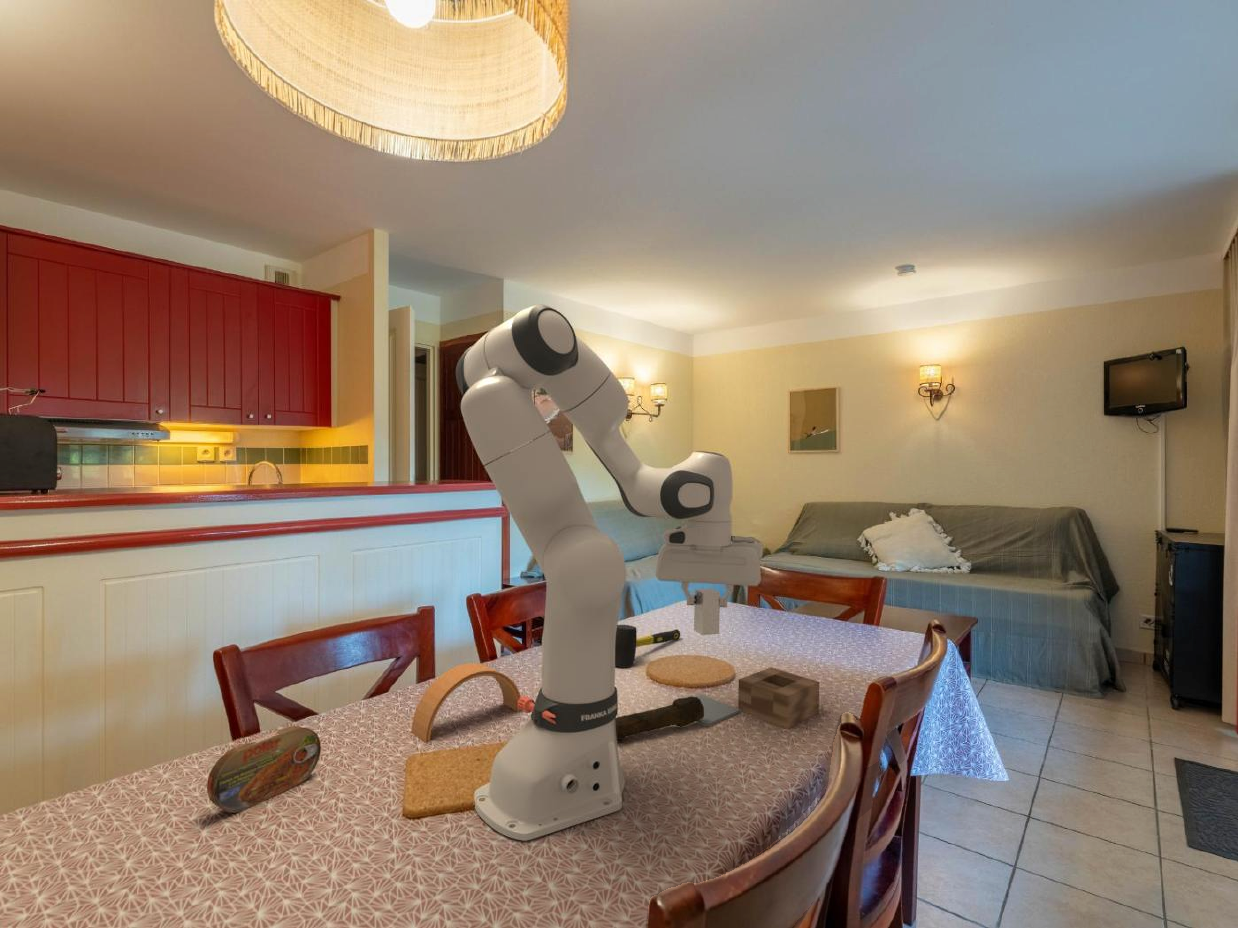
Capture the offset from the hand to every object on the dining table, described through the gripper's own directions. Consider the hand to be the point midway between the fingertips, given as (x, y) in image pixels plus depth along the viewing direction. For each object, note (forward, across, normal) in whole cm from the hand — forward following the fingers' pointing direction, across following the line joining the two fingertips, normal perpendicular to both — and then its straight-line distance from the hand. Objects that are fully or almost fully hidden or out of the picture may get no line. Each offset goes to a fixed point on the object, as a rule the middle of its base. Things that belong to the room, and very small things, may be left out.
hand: (706, 605), depth 117 cm
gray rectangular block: (+5, 0, 0) cm, 5 cm away
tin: (+22, +62, +41) cm, 77 cm away
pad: (+21, 0, 0) cm, 21 cm away
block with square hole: (+20, -14, -3) cm, 25 cm away
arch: (+22, +43, +12) cm, 50 cm away
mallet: (+21, +15, -34) cm, 43 cm away
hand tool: (+21, +8, +10) cm, 24 cm away
